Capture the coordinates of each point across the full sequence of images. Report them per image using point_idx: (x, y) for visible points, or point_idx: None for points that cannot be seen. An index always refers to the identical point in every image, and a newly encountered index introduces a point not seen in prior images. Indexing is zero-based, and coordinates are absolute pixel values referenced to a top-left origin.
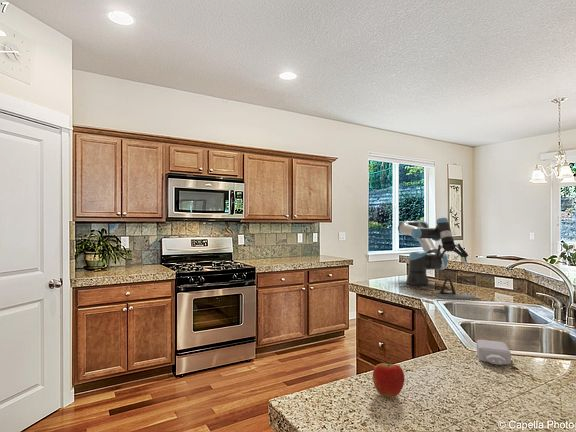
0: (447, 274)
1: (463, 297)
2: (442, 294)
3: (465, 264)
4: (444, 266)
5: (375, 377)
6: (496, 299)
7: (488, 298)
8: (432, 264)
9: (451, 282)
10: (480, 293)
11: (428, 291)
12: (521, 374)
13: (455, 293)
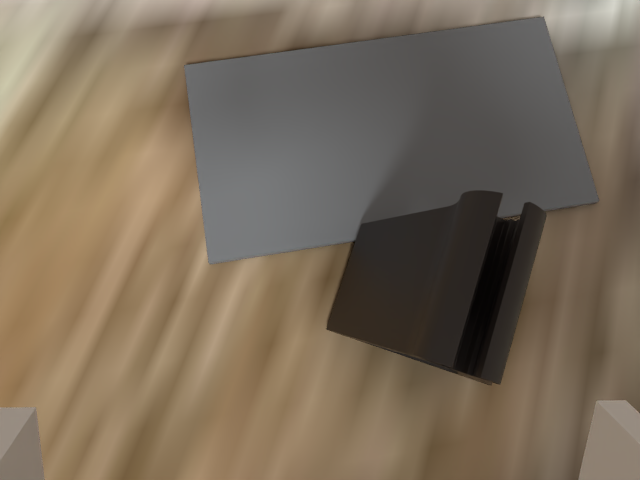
0: (511, 250)
1: (330, 84)
2: (508, 201)
3: (2, 442)
4: (614, 412)
5: None
6: (18, 75)
7: (76, 109)
8: None
9: (429, 211)
10: (20, 373)
11: (628, 401)
12: None
13: (364, 224)
